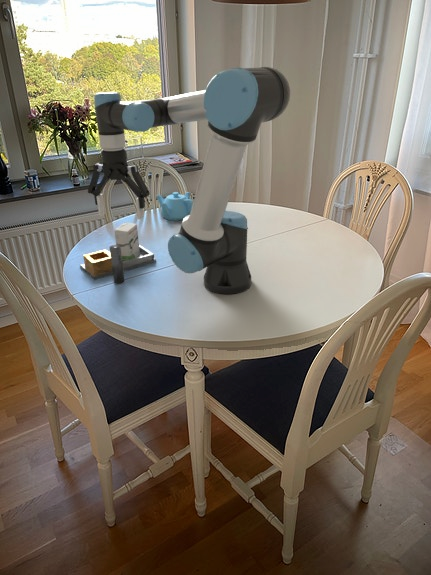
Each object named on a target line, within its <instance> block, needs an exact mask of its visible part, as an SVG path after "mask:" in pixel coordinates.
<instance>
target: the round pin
mask: <svg viewBox="0 0 431 575" xmlns="http://www.w3.org/2000/svg"><path fill="white" fill-rule="evenodd" d="M109 252H110V256H111V263H112V271H113V275H112V278H113V283H114V284H115V285H121V284H123V283H125V281H126V280H125V271H123V262H122V254H121V246H120V245H116V244H113V245H110V246H109Z"/></svg>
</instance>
